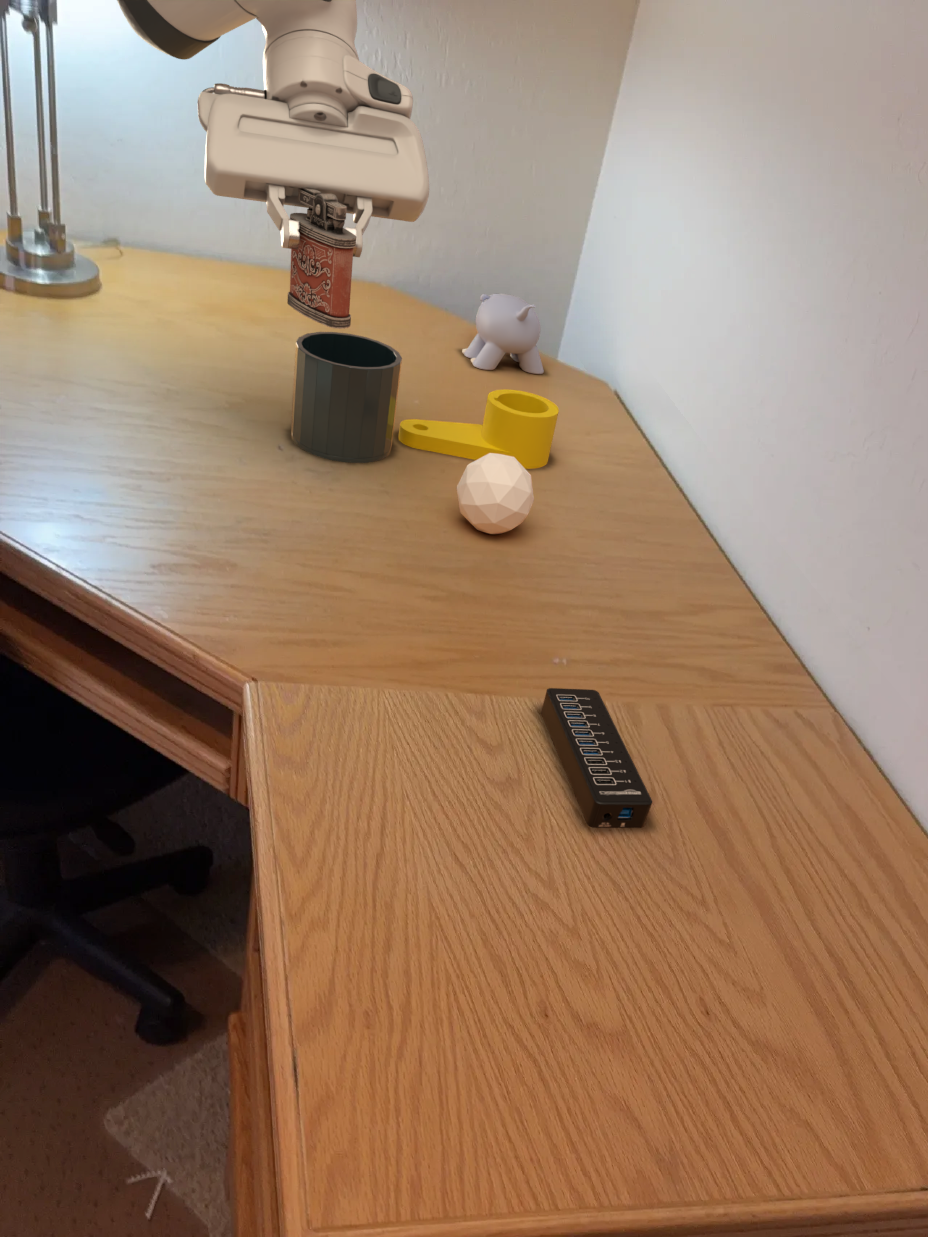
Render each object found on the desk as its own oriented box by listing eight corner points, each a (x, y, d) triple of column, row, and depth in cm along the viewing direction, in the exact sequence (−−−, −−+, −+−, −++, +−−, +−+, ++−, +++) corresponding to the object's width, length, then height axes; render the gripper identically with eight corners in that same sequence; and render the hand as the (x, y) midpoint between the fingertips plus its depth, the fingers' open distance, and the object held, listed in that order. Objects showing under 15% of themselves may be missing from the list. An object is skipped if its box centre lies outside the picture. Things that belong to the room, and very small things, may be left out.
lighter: (358, 326, 99) (367, 205, 93) (329, 329, 97) (336, 206, 91) (308, 298, 103) (313, 180, 97) (279, 301, 101) (282, 180, 95)
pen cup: (298, 459, 114) (304, 362, 107) (285, 419, 121) (289, 326, 115) (399, 466, 117) (411, 373, 111) (380, 427, 125) (390, 337, 118)
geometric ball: (504, 556, 111) (558, 515, 106) (447, 537, 106) (501, 492, 100) (489, 494, 113) (542, 451, 108) (433, 472, 108) (485, 425, 102)
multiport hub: (590, 712, 86) (597, 688, 85) (645, 828, 76) (654, 803, 75) (539, 710, 85) (545, 686, 84) (588, 828, 75) (596, 803, 73)
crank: (541, 445, 130) (552, 395, 126) (552, 472, 124) (564, 421, 120) (396, 425, 126) (402, 373, 122) (400, 452, 120) (407, 398, 116)
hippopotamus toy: (517, 345, 159) (529, 275, 153) (551, 381, 149) (566, 308, 143) (449, 338, 156) (459, 267, 149) (480, 375, 146) (492, 300, 139)
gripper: (197, 52, 90) (206, 211, 90) (428, 93, 97) (438, 242, 96) (194, 106, 96) (203, 255, 96) (412, 140, 103) (421, 281, 102)
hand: (322, 249), depth 96 cm, fingers closed on lighter, 4 cm apart
